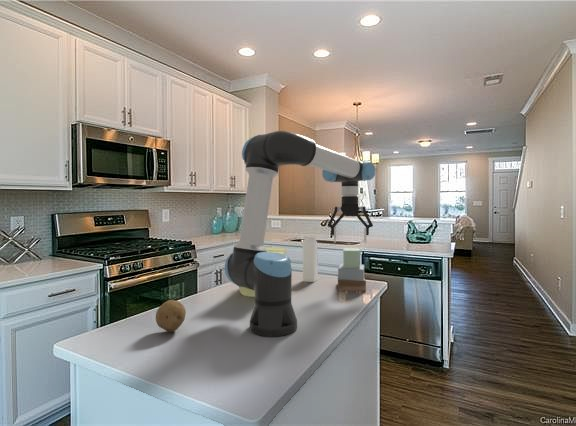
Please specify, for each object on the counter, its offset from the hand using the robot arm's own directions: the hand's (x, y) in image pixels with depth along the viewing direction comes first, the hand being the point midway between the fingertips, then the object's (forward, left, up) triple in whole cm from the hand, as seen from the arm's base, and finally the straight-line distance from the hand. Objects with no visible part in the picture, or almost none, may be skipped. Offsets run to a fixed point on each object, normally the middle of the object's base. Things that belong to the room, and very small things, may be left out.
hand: (349, 242), depth 157 cm
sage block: (0, -1, -11) cm, 11 cm away
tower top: (0, -1, -16) cm, 16 cm away
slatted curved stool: (-12, +39, -21) cm, 46 cm away
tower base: (0, -1, -21) cm, 21 cm away
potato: (-59, +58, -21) cm, 85 cm away
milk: (+12, +19, -21) cm, 31 cm away
